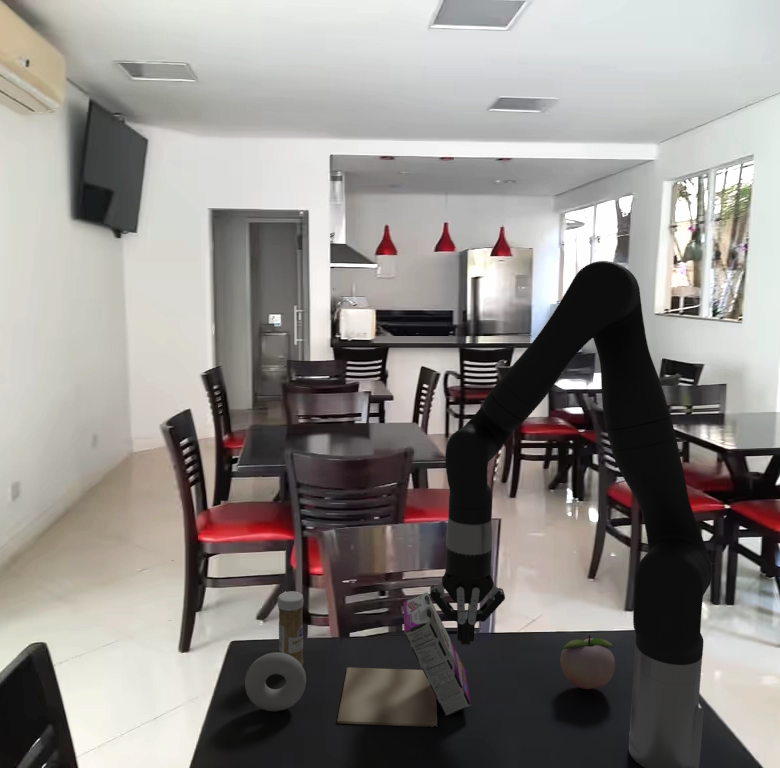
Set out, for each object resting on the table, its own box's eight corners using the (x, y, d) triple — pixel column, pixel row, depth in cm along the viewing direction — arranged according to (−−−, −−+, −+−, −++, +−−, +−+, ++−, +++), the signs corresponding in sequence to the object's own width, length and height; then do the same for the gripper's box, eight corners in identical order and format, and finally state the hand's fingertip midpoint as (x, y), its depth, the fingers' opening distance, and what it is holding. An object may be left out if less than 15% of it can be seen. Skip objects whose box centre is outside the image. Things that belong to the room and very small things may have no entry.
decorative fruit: (577, 708, 120) (580, 652, 119) (551, 682, 128) (554, 629, 127) (625, 698, 123) (628, 643, 122) (596, 673, 131) (599, 621, 130)
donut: (244, 718, 117) (243, 660, 115) (245, 705, 120) (244, 649, 118) (306, 714, 118) (306, 657, 116) (306, 701, 121) (306, 646, 120)
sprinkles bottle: (301, 671, 130) (300, 601, 128) (276, 670, 131) (275, 600, 129) (305, 658, 135) (305, 590, 133) (281, 657, 135) (280, 589, 133)
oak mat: (435, 672, 131) (435, 670, 131) (437, 726, 115) (437, 724, 115) (347, 669, 131) (347, 667, 131) (337, 723, 116) (337, 720, 115)
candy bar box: (440, 680, 128) (402, 601, 126) (466, 670, 128) (428, 590, 126) (444, 718, 117) (402, 632, 115) (472, 707, 117) (430, 620, 115)
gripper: (428, 551, 115) (426, 652, 118) (511, 554, 115) (507, 655, 117) (428, 534, 123) (426, 630, 125) (506, 537, 122) (502, 633, 125)
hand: (465, 642), depth 121 cm, fingers closed
